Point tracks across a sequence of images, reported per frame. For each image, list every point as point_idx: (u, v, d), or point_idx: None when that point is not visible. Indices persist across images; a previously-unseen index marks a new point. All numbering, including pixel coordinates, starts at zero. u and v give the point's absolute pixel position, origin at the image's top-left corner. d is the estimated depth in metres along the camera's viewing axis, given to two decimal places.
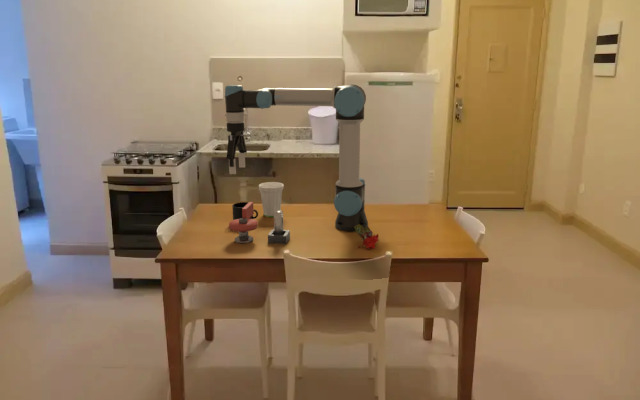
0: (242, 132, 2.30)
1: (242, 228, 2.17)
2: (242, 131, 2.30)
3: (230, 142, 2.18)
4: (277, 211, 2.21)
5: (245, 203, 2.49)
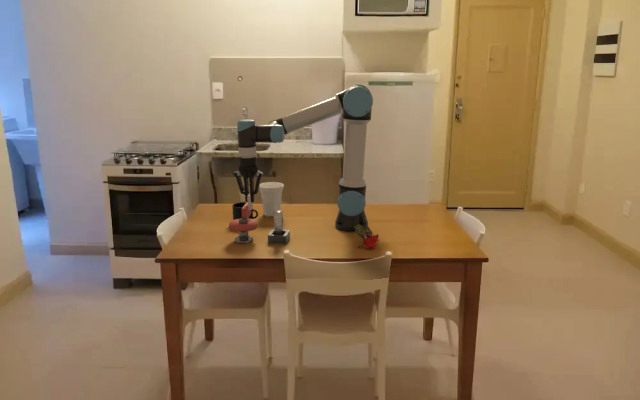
0: (259, 173, 2.23)
1: (243, 228, 2.17)
2: (260, 173, 2.23)
3: None
4: (277, 211, 2.21)
5: (245, 203, 2.49)
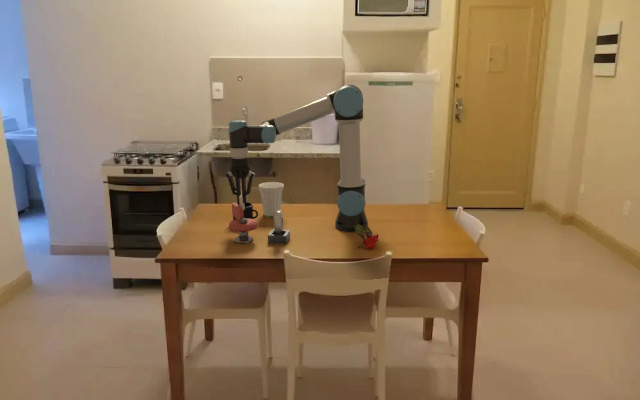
0: (251, 174, 2.23)
1: (250, 227, 2.18)
2: (252, 173, 2.23)
3: None
4: (277, 211, 2.21)
5: (245, 203, 2.49)
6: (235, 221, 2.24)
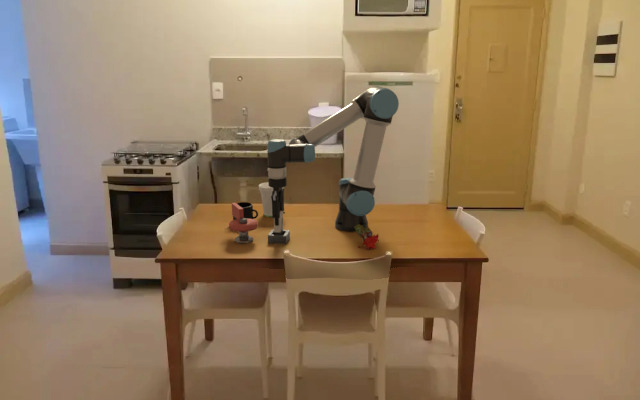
0: (283, 189, 2.24)
1: (250, 227, 2.18)
2: (283, 188, 2.24)
3: (274, 202, 2.14)
4: None
5: (245, 203, 2.49)
6: (235, 221, 2.24)
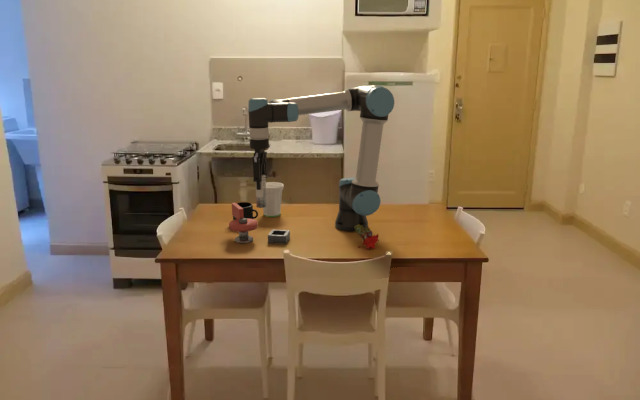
0: (266, 152, 2.12)
1: (250, 227, 2.18)
2: None
3: (255, 164, 2.02)
4: None
5: (245, 203, 2.49)
6: (235, 221, 2.24)
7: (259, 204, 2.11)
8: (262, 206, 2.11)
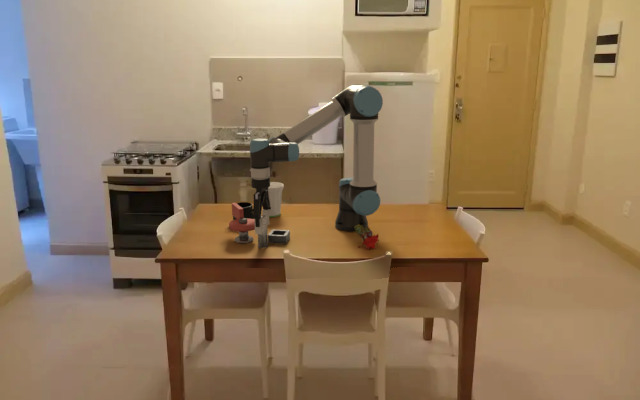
0: (267, 187, 2.16)
1: (250, 227, 2.18)
2: None
3: (256, 201, 2.05)
4: (261, 216, 2.14)
5: (245, 203, 2.49)
6: (235, 221, 2.24)
7: (261, 245, 2.15)
8: (264, 246, 2.16)
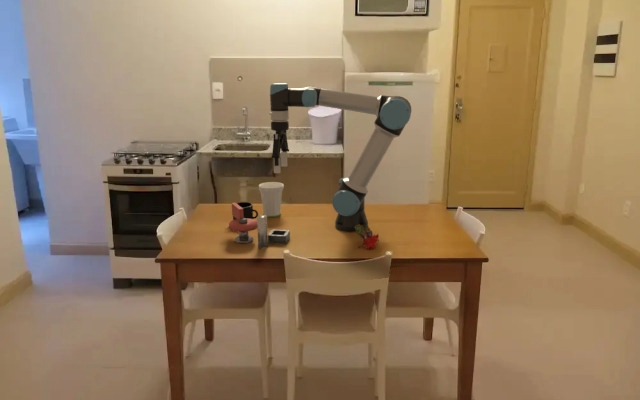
0: (285, 131, 2.28)
1: (250, 227, 2.18)
2: (285, 130, 2.28)
3: (275, 141, 2.17)
4: (261, 216, 2.14)
5: (245, 203, 2.49)
6: (235, 221, 2.24)
7: (261, 245, 2.15)
8: (264, 246, 2.16)
